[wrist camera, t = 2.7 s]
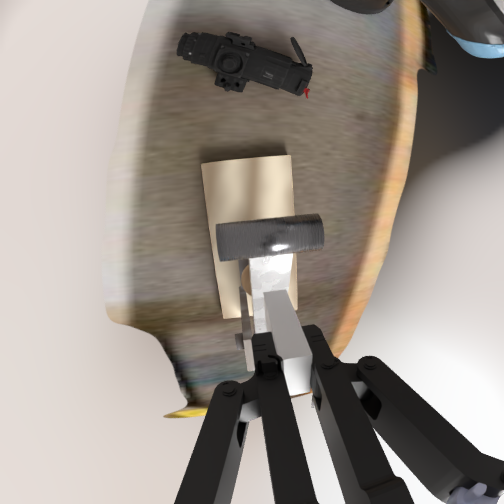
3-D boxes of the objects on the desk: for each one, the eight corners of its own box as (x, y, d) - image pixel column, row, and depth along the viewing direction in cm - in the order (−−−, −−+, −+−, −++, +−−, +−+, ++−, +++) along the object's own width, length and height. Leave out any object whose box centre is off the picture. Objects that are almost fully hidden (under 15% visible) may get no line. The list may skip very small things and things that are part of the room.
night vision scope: (186, 61, 33) (202, 5, 25) (297, 96, 37) (325, 45, 28) (166, 80, 29) (182, 13, 21) (296, 120, 33) (331, 60, 24)
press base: (287, 155, 37) (321, 157, 23) (294, 303, 46) (319, 363, 32) (202, 163, 37) (185, 169, 23) (223, 312, 45) (223, 376, 31)
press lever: (315, 205, 19) (326, 232, 17) (292, 328, 35) (296, 346, 33) (215, 216, 19) (216, 244, 17) (239, 335, 35) (241, 353, 33)
